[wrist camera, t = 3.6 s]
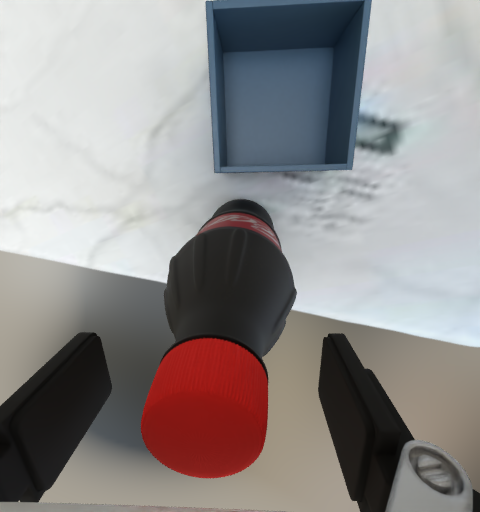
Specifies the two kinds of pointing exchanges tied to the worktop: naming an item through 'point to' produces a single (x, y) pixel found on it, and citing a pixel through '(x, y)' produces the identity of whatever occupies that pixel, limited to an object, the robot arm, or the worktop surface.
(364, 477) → the robot arm
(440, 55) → the worktop surface
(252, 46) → the case
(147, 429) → the cola bottle
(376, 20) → the worktop surface
